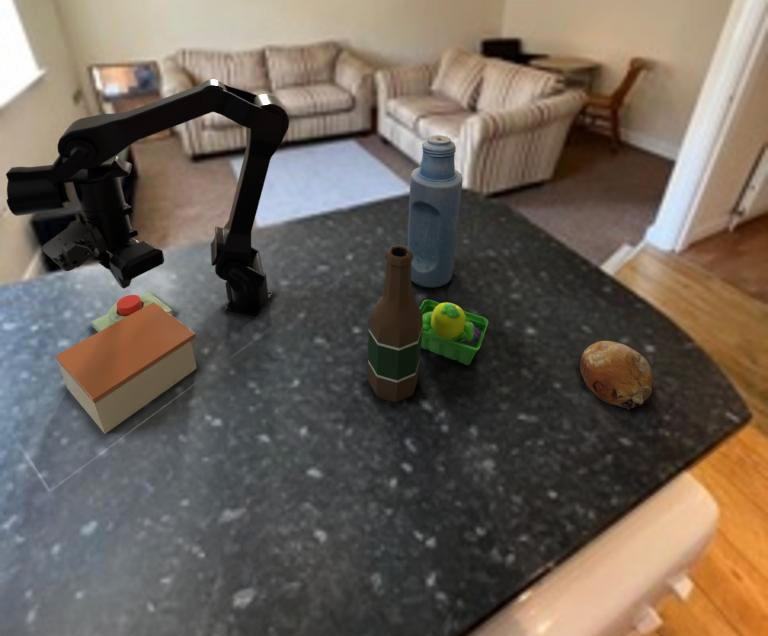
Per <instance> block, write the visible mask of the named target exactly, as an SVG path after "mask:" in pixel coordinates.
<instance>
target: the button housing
mask: <svg viewBox="0 0 768 636" xmlns="http://www.w3.org/2000/svg"><path fill="white" fill-rule="evenodd" d="M137 295H138V296H139V297H140V299H141V303H142V308H144V307H146V306H147V305H149V304H151V303H153V302H155V303H156V304H158V305H159V306H160V307H162V308H163V309H164V310H165V311H167V312H168V313H169V314H170V315H172V316H173V315H174V313H173V310H172V308H171V307H169V306H168V305H166V304H165V303H164V302H163V301H161V300H159V298H158V297H156V296H154V295H153V294H152V293H150V291H147V292H145V293H143V294H142V295H141V294H137ZM117 302H118V301H116V302H115V303H114V304H113V305H111V307H110V308H109V309H108V312H107V313H105V314H103V315H102V316H99V317H98V318H96V319H94V320H92V321H91V325H92V327H93V328H94V330H96V332H97V333H98V332H100V331H102V330H103V329H105V328H107V327H109V326H111V325H113V324H114V323H116V322H118V321H120V320H122V319H124V318H125V317H127V316H121V315H120V314H119V312H118V308H117Z"/></svg>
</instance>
